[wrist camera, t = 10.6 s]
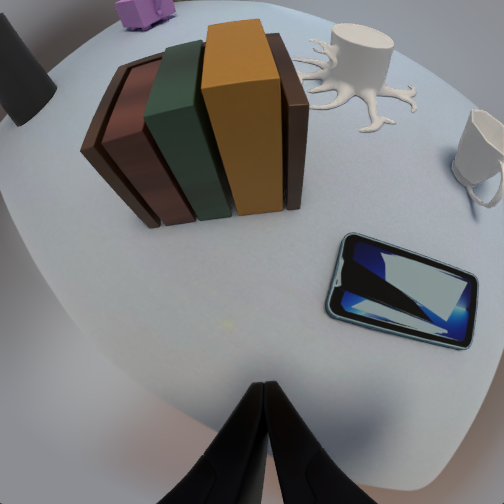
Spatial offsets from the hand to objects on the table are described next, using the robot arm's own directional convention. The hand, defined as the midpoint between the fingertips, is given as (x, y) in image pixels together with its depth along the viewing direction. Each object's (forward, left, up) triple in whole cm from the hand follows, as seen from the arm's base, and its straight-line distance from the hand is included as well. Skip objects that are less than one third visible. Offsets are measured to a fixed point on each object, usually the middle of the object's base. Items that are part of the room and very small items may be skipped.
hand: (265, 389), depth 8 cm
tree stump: (+37, +3, -12) cm, 39 cm away
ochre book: (+16, +9, -12) cm, 22 cm away
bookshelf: (+15, +12, -12) cm, 23 cm away
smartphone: (+10, -9, -12) cm, 18 cm away
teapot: (+57, +60, -13) cm, 83 cm away
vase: (+22, +70, -12) cm, 74 cm away
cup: (+26, -14, -13) cm, 32 cm away
